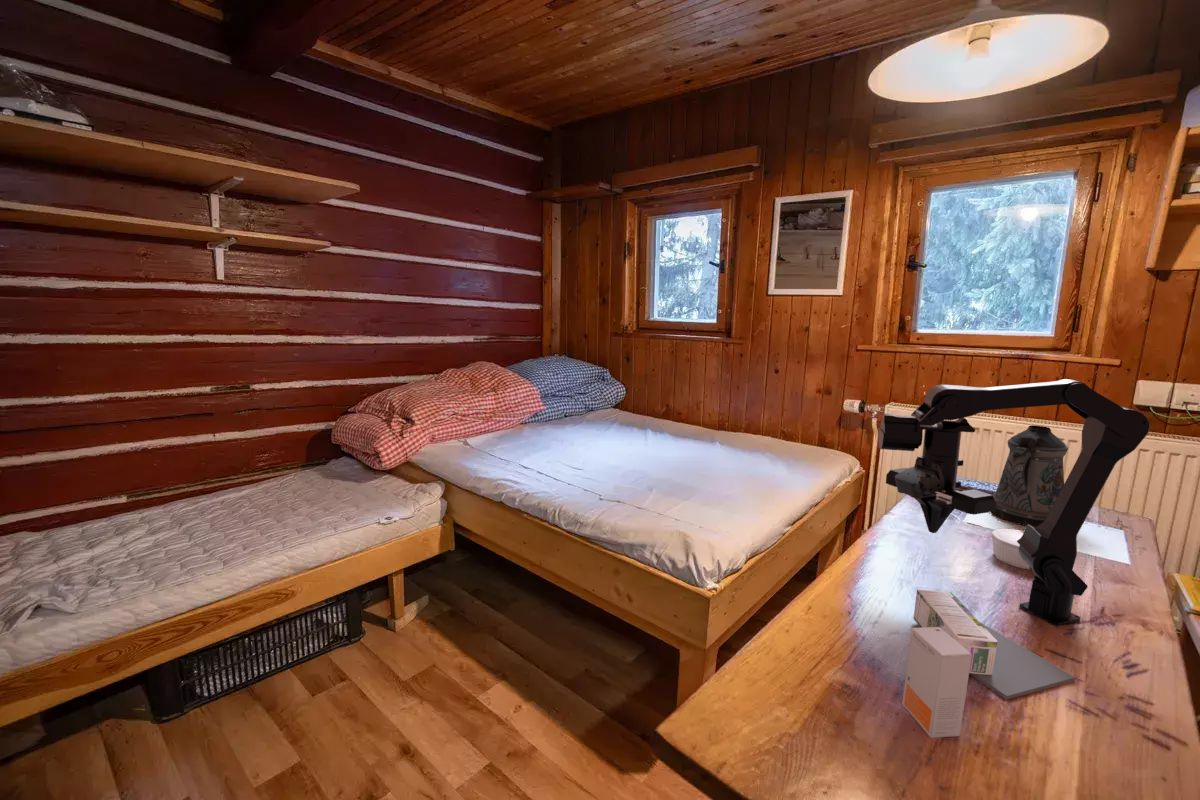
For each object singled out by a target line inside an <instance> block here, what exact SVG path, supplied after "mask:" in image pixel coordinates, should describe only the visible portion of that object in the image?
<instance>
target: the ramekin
mask: <svg viewBox="0 0 1200 800" xmlns="http://www.w3.org/2000/svg"><path fill="white" fill-rule="evenodd" d="M1023 533H1024V530H1019V529H1013V528H997V529H994V530H993V531H991V538H992V551H993V554H994V556H996V559H998V560H999V561H1001V562H1003V563H1005V564H1007V565H1010V566H1013V567H1016V568H1020V569H1025V570H1029V571H1031V570H1030V569H1029V565H1028V564H1027V563H1026V562H1025V561H1024V560H1023V559H1022V557H1021V555H1020V553H1019V546H1020V545H1019V544H1018V543H1017V541H1018V540H1019V539H1020V538H1021V537H1022V535H1023Z"/></svg>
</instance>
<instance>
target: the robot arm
mask: <svg viewBox="0 0 1200 800" xmlns="http://www.w3.org/2000/svg"><path fill="white" fill-rule="evenodd" d="M1058 405H1059V406H1061V405H1066V407H1068V408H1069V409H1071V410H1072V411H1073V412H1074V413H1075V414H1077V415H1078V416H1079V417H1081V418H1082V419H1084V423H1083V427H1082V429H1081V449H1080V453H1079V455H1078V457H1077V459H1076V462H1074V465H1073V466H1072V469H1071V470H1070V472H1069V474H1068V476H1067V478H1066V479H1065V481H1064V486H1063V488H1062V489H1061V491H1060V493H1059V495H1058V497H1057V499H1056V501H1055V503H1054V505H1053V507H1052V509H1051V511H1050V512H1049V514H1048V516H1047V518H1046V520H1045V521H1044V522H1043V523H1041V524H1040V525H1038V526H1037V527H1033V526H1031V525H1029V524H1027V525H1026V526H1024V530H1023V531H1024V533H1023V535H1022V537H1021V538H1020V539H1019V540H1018V541H1017V543H1018V544H1019V545H1020V546H1019V553H1020V555H1021V557H1022V559H1023V560H1024V561H1025V562H1026V563H1027V564H1028V565H1029V569H1030V570H1029V569H1028V570H1029V571H1031V572H1033V574H1034V576H1033V579H1032V584H1031V588H1030V593H1029V598H1028V601H1025V602H1021V603H1019V604H1018V605H1019V608H1021V609H1023V610H1025V611H1028V612H1029V613H1031V614H1033V615H1034V616H1036V617H1039V618H1041V619H1043V620H1045V621H1047V622H1049V623H1050V624H1052V625H1055V626H1060V625H1064V624H1069V623H1072V622H1078V621H1080V620H1081V616H1080V615H1077V614H1076V613H1073V612H1072V609H1073V604H1074V603H1073V602H1074V598H1075V596H1082V595H1084V593H1085V592H1086V590H1087V589H1088V585H1087V584H1086V582H1084V580H1083V579H1082V578H1080V576H1079V575H1078V574H1077V573H1076V572H1075V571H1074V568H1075V567H1074V566H1075V562H1076V559H1077V556H1078V552H1077V551H1078V547H1077V545H1078V539H1077V537H1078V534H1079V532H1080V530H1081V529H1082V527H1083V525H1084V523H1085V522H1086V519H1087V517H1088V516H1089V514H1090V512H1091V511H1092V509H1093V507H1094V505H1095V503H1096V501H1097V499H1098V497H1099V495H1100V494H1101V492H1102V489H1103V488H1104V487H1105V485H1106V483H1107V481H1108V480H1109V477H1110V476H1111V473H1112V471H1113V469H1114V468H1115V466H1116V464H1117V463H1118V462H1119V461H1121V460H1122V459H1123V458H1125V457H1126V456H1128V455H1129V454H1131V453H1132V452H1134V451H1135V450H1137V448H1138V446H1139V445H1140V444H1141V443H1142V442H1143V440H1144V439H1146V437H1147V435H1148V434H1149V432H1150V429H1151V423H1150V422H1149V420H1148V419H1147V417H1146V415H1144V414H1143V413H1142V412H1141V411H1138V410H1134V409H1131V408H1128V407H1125V406H1121V405H1119V404H1118V403H1116V402H1114V401H1112V400H1111V399H1109V398H1107V397H1105V396H1104V395H1102V394H1100V393H1098V392H1097V391H1095V390H1094V389H1093V388H1091V387H1090V386H1089V385H1087V384H1086V383H1084V382H1082V381H1078V380H1074V379H1072V378H1071V379H1070V378H1069V379H1068V378H1063V379H1060V380H1054V381H1046V382H1045V381H1043V382H1034V383H1033V382H1031V383H1022V384H1020V383H1019V384H1011V385H1010V384H1009V385H996V386H989V387H988V386H987V387H986V386H985V387H978V386H969V385H968V386H967V385H957V384H955V385H954V384H938V385H934V386H932V387H931V388H930V389H929V390H928V391H927V392H926V394H925V396H924V401H923V402H922V403H921V404H920V405H919V406H918V407H917V408H916V409H915V410H914V411H913V412H912V413H911V414H910V415H898V414H892V413H883V414H882V420H881V421H880V426H879V428H878V448H879V450H887V451H888V450H889V451H905V452H915V450H916V449H917V450H918V449H919V447H921V446H922V444H923V446H922V453H921V454H922V455H919V456H918V455H917V457H916V459H915V463H914V466H912V467H911V466H910V467H904V468H903V467H902V468H895V469H890V470H889V471H888V472H887V473H886V476H885V484H886V485H889V486H892V487H895V488H896V489H897V492H898V493H899V494H903V495H907V496H909V497H910V498H914V499H915V501H916V502H917V503H918V504H919V505H920V507H921V510H922V513H923V516H924V520H925V524H926V526H927V530H928V532H930V533H931V534H936V533H938V531H939V530H940V529H941V527H942V526H943V524H944V523H945V522H946V520H947V519H948V518H949V516H950V515H951V514H952V512H954V510H958V511H959V512H962V513H966V514H968V515H980V514H985V513H986V514H987V513H992V512H993V511H996V504H997V502H996V499H995V498H994V496H993V495H994V494H989V493H987V492H984V491H981V490H978V489H967V490H962V491H961V490H958V489H956V488H960V487H962V481H961V480H957V476H958V467H961V466H962V467H963V466H964V459H961V458H959V456H960V455H959V454H960V447H961V439H962V433H976V428H974V427H973V426H972V425H971V424H970V423H969V421H968V419H967V418H968V417H973V416H975V415H977V414H981V413H984V412H988V411H992V410H993V411H995V410H1005V409H1020V408H1031V407H1032V408H1033V407H1047V406H1058ZM923 430H924V431H923ZM923 432H924V435H923Z"/></svg>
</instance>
